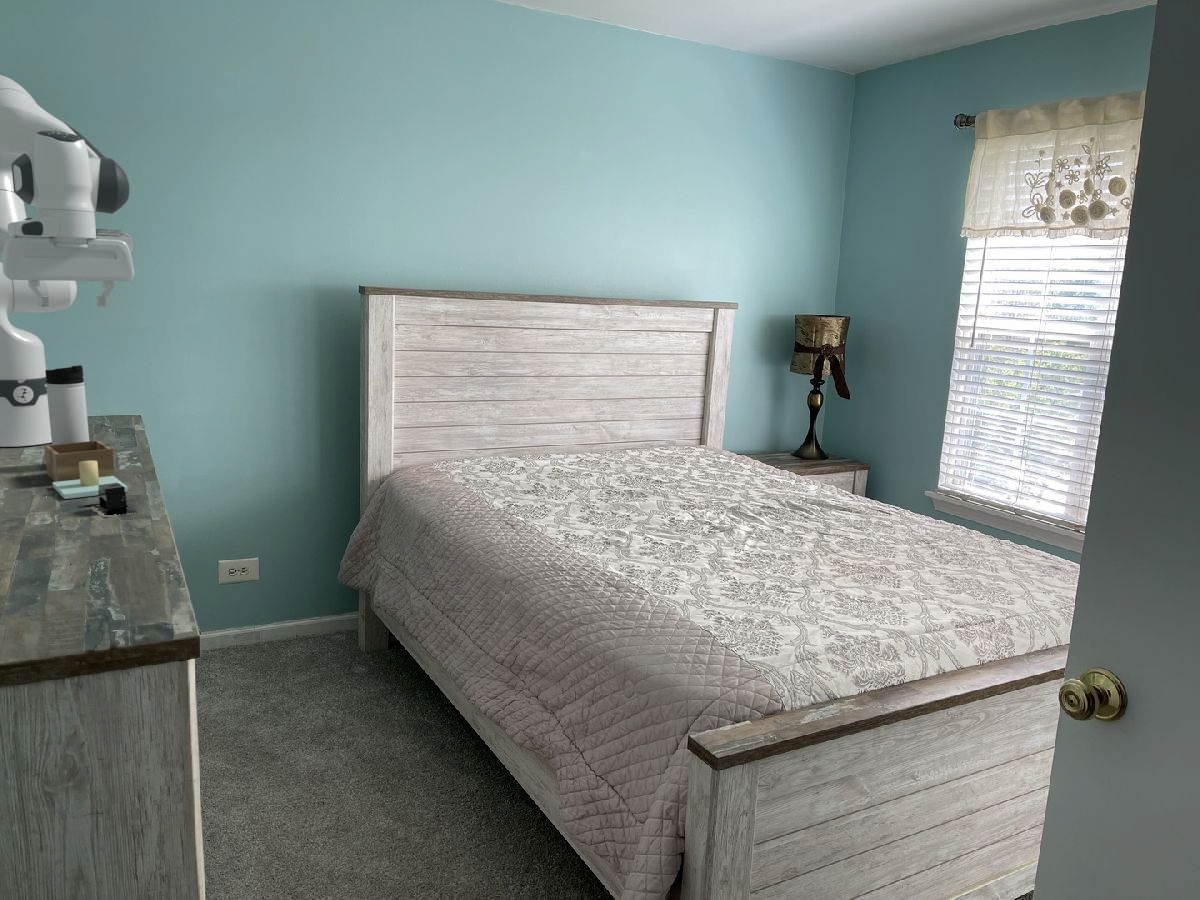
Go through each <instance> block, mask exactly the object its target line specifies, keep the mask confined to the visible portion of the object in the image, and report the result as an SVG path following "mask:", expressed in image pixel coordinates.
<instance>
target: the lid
mask: <svg viewBox="0 0 1200 900" xmlns="http://www.w3.org/2000/svg"><path fill="white" fill-rule="evenodd" d="M79 471H80V479H79V480H69V481H60V482H55V481H52V487H53V489H54V490H55V491H56V492H57V493H58V494H59V495H60V496H61V497H62V498H63V499H64V500H69V499H76V498H84V497H85V498H86V497H93V496H94V497H95V496H99V494H98V490H99V488H98V485H103V484H111V483H119V484H120V485H122V486H124V488H125V493H127V492H129V487H128V486H127V485H126V484H125V483H123V482H122V481H121V480H119V478H117V477H116V476H115V477H114V476H107V477H99V476H98V463H97V461H81V462H79Z"/></svg>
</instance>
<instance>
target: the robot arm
mask: <svg viewBox="0 0 1200 900" xmlns="http://www.w3.org/2000/svg"><path fill="white" fill-rule="evenodd" d="M129 198H130V183H129V178H128V176H127V174H126V172H125V171H124V169H123V168H122V167H121V166H120V165H119V163H118V162H117V161H115V160H114V159H112V158H110V157H109V158H108V157H106V156H105V155H104V154H102V153H101V152H100V150H98V149H97V148H96V146H94V145H93V144H92V143H91V142H90V141H89V140H88V139H87V138H86V137H84V135H82V134H81V133H80V131H78V130H77V129H76V128H74V127H73V126H71V125H69V124H67V123H66V122H63V121H62V120H61V119H59V118H56V117H55V116H54V115H52V114H51V113H49V112H48V111H46V110H45V109H44V108H42V107H41V106H40V105H39V104H38V102H36V100H35V99H34V98H33V97H32V95H31V94H30V93H29V92H28V91H27V90H26V89H25V88H24V87H23V86H21V85H20V84H19V83H18V82H16V81H15V80H13V79H11V78H10V77H8V76H5V75H1V74H0V256H1V257H2V260H0V447H2V448H5V447H25V446H26V447H27V446H38V445H45V444H50V443H51V444H52V439H51V429H50V418H49V408H48V398H47V385H46V380H47V378H46V373H45V370H47V365H46V355H45V346H44V343H43V341H42V340H41V339H40V338H39V337H38V336H37V335H35V334H34V333H33V332H29V331H27V330H25V329H22V328H19V327H17V326H14V325H13V324H11V322H10V320H9V317H8V314H14V313H15V314H20V313H21V314H22V313H23V314H27V313H28V314H31V313H39V314H40V313H43V314H44V313H50V312H56V311H60V310H65V309H69V308H70V307H71V306H72V304H73V303H74V301H75V300H76V297H77V294H78V292H77V291H78V285H77V282H101V283H102V287H103V288H104V291H103V292H102V294H101V295H100V296H98V295H97V296H96V301H97V302H96V304H97V307H103V308H104V307H109V297H110V295H111V293H112V291H113V290H114V288H115V285H114V282H131V281H132V280H133V279H134V277H135V269H134V263H133V258H132V252H133V250H134V246H133V245H134V244H133V239H132V238H131V236H130V235H129V234H128V233H126V232H124V231H123V230H120V229H113V230H112V229H104V228H103V229H102V228H97V226H96V216H95V215H96V213H95V212H97V213H103V214H114V213H116V212H117V211H118V210H120V209H121V208H122V207H123V206H124V205H125V204H127V202H128V200H129ZM25 204H27V205H29V206H32V207H36V216H34V217H27V212H26V207H25Z"/></svg>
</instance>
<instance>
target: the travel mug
mask: <svg viewBox="0 0 1200 900" xmlns="http://www.w3.org/2000/svg"><path fill="white" fill-rule="evenodd" d="M45 373H46V378H47V380H46V385H47V398H48V408H49V418H50V429H51V439H52V442H51V445H55V444H66V443H77V442H88V441H90V435H89V423H88V411H87V398H86V388H85V387H86V386H85V380H84V369H83V365H82V364H81V365H79V364H78V365H72V366H70V367H61V368H55V369H46V370H45Z"/></svg>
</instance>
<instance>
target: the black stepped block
mask: <svg viewBox="0 0 1200 900" xmlns="http://www.w3.org/2000/svg"><path fill="white" fill-rule="evenodd" d="M98 488H99V490H98V494H99V495H98V503H99V504H98V505H100V506H95V508H98V511H101V512H102V513H104V515H114V514H117V515H119V514H121V515H122V514H126V513H132V512H133V513H135V512H136V513H137V511H138V510H137V509H136V510H137V511H136V510H134V509H135V508H134V509H132V508H133V507H132V508H130V507H128V506H127V505H126V504H127V496H126V493H127V492H125V488H124V486H122V485H120V484H119V483H111V484H103V485H98ZM137 514H138V513H137Z"/></svg>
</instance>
